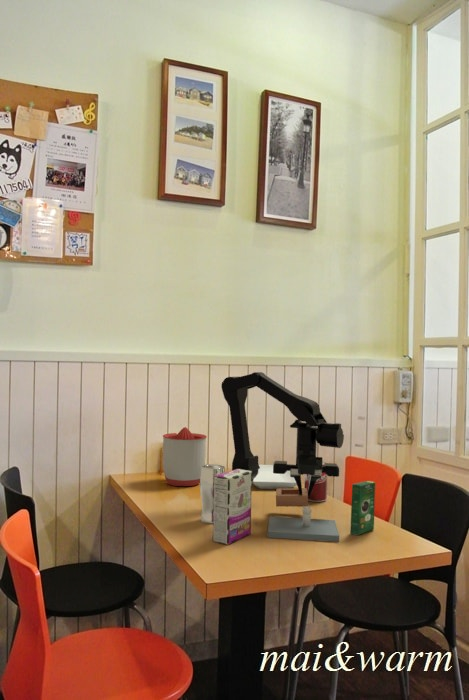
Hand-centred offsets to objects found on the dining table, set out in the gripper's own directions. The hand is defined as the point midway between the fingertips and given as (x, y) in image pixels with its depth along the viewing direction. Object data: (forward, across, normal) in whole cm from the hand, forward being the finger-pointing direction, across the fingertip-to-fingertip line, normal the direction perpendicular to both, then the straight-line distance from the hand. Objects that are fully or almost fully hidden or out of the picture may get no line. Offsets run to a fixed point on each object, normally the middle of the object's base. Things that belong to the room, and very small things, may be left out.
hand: (304, 498), depth 167 cm
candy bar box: (+6, -19, -23) cm, 30 cm away
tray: (+6, -12, +46) cm, 48 cm away
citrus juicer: (+6, -42, +35) cm, 55 cm away
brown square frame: (+1, -4, 0) cm, 4 cm away
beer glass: (+6, -26, -9) cm, 28 cm away
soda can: (+6, +4, +21) cm, 22 cm away
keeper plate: (+5, -1, -14) cm, 15 cm away
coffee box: (+6, +15, -11) cm, 19 cm away
